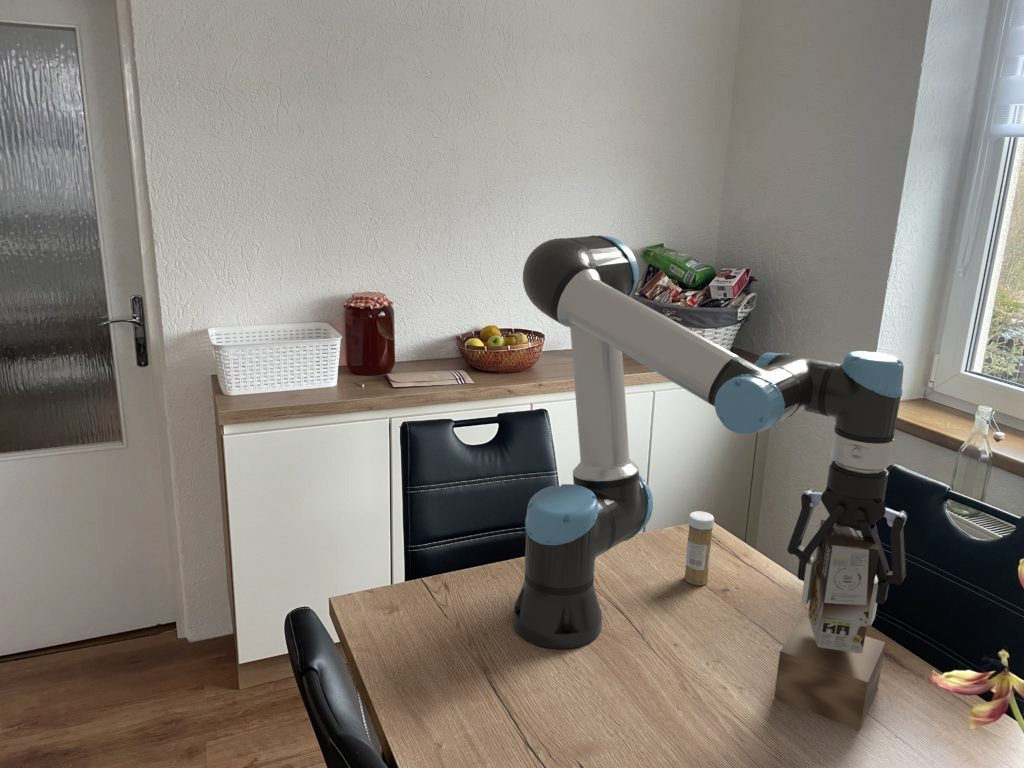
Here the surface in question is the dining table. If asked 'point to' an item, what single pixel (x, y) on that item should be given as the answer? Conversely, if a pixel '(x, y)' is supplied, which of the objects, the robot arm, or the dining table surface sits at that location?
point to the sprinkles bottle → (698, 547)
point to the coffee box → (842, 589)
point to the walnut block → (828, 677)
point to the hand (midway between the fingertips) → (837, 610)
